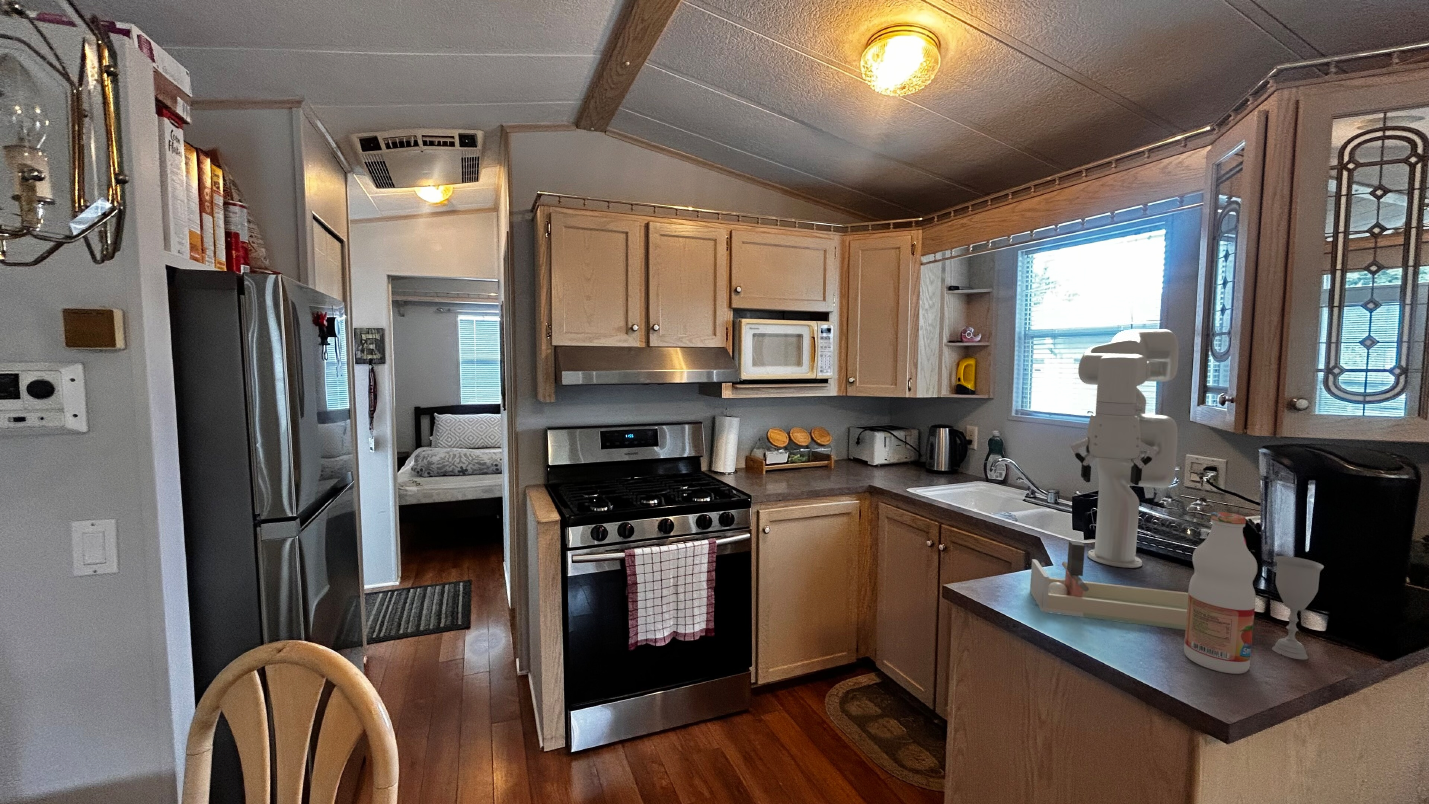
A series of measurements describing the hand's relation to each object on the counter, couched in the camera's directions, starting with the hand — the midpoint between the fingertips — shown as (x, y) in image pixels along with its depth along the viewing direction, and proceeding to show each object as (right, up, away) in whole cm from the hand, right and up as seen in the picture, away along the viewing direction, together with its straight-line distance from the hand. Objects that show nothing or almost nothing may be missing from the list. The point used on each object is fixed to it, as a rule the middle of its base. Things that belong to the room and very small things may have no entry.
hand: (1110, 482), depth 138 cm
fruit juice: (+1, -30, -27) cm, 41 cm away
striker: (-11, -26, -3) cm, 28 cm away
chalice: (+19, -30, -23) cm, 43 cm away
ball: (-14, -25, -2) cm, 28 cm away
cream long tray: (-2, -28, -5) cm, 29 cm away
